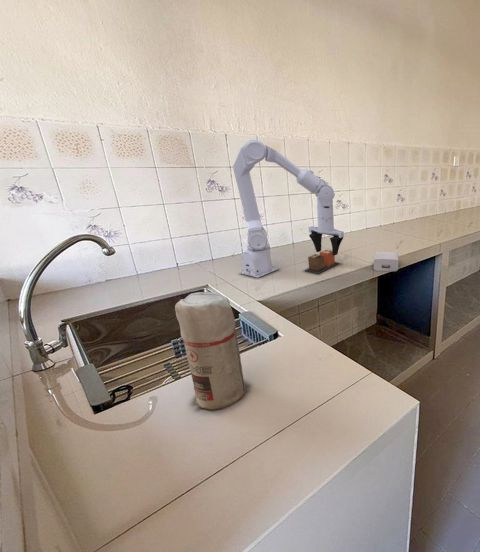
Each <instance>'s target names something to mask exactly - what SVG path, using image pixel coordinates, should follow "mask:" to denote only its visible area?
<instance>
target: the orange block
mask: <svg viewBox="0 0 480 552" xmlns="http://www.w3.org/2000/svg"><path fill="white" fill-rule="evenodd" d="M319 255H322V256H324V266H328V267H329V266H331V265H333V264H335V262H336V260H335V258H336V255H335V256H334V255H333V253H332V249H325V250H321V251H320V252H319Z"/></svg>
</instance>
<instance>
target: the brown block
mask: <svg viewBox="0 0 480 552" xmlns="http://www.w3.org/2000/svg"><path fill="white" fill-rule="evenodd" d="M307 259H308V269H309V270H312V271H317V272H318V271H321V270H323V269H325V267H324V256H322V255H320V254H316V253H314V254H312V255H309V256H307Z"/></svg>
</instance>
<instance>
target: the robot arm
mask: <svg viewBox="0 0 480 552" xmlns="http://www.w3.org/2000/svg"><path fill="white" fill-rule="evenodd" d="M263 160H264V161H265V162H268V163H273V164H276V165H278V166H279V167H281V168H282V169H284V170H285V171H287V172H288V173H289V174H291V175H292V176H294V177H295V178H296V183H297V184H298V185H300V186H301V187H303V188H304V189H305V190H306V191H308V192H309V193H311V194H313V195H315V197H316V214H317V226H314V225H313V226H308V233H310V234H308V236H309V238H310V240H311V241H312V243H313V245H314V249H315V251H316V253H320V252H322V241H323V235H325V236H331V237H329V240H330V243H331V251H332V253H333V255H334V256H335V257H336V256H337V255H339V249H340V246H341V243H342V241H343V239H344V237H345V231H343V230H339V229H336V228H335V225H334V224H335V223H334V220H335V219H334V201H333V200H334V198H335V195H336V193H335V190H334V189H333V187H332V186H330V184H328V183H327V182H326V180H324V179H323V178H322V179H321V178H320V177H319V176H317V175H315V174H314V173H315V172H314V171H313V170H312V169H308V168H303V169H301V168H300V167H299V166H297V165H296V164H294V163H293V162H292V161H291V160H289V159H288V158H287V157H285V156H284V155H283V154H282V153H280V152H279V151H278V150H276V149H274V148H272V147H271V146H269V145H266V144H264V142H261V141H260V140H258V139H249V140H248V141H247V142H246V143H245V144H243V146H242V147H241V148H240V150H239V152H238V154H237V156H236V159H235V161H234V163H233V165H232V169H233V173H234V177H235V180H236V181H235V182H236V186H237V190H238V194H239V198H240V202H241V206H242V209H243V214H244V218H245V222H246V228H247V240H246V241H247V246H246V250H245V251H243V252H242V253H241V254H240V262H241V269H242V271H241V273H240V274H242V275H245V276H249V277H253V278H257V279H258V278H261V277H263V276H266V275H268V274H271V273H273V272H276V271H278V268H277V267H273V266H272V257H271V247H270V244H269V239H268V237H267V236H268V235H267V234H268V233H267V231H266V229H265V228H264V227H263V225H262V221H261V217H260V211H259V208H258V203H257V199H256V195H255V194H256V193H255V190H254V186H253V181H252V176H251V173H250V172H251V171H252V170H253V168H254V167H255V166H256V165H257V164H259V163H261V161H263Z"/></svg>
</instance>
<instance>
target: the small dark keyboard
mask: <svg viewBox="0 0 480 552" xmlns="http://www.w3.org/2000/svg"><path fill="white" fill-rule="evenodd" d="M338 265H340V262H336V261H335V264H333V265H331V266H329V267H328V266H324V267H325V269H323V270H321V271H318V272H317V271H312V270H309V268H307V269H304V272H307V273H310V274H316V275H321V274H322V273H324V272H326V271H328V270H331V269H332V268H334V267H336V266H338Z"/></svg>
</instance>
